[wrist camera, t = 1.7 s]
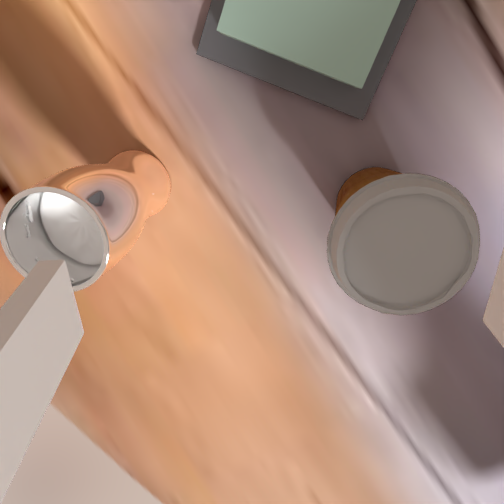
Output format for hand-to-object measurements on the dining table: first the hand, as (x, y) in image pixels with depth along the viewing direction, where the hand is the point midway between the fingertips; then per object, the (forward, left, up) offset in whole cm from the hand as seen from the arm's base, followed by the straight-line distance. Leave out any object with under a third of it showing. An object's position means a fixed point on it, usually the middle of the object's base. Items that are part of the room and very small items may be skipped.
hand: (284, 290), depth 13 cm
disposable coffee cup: (-8, +1, -26) cm, 27 cm away
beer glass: (+12, +7, -26) cm, 29 cm away
